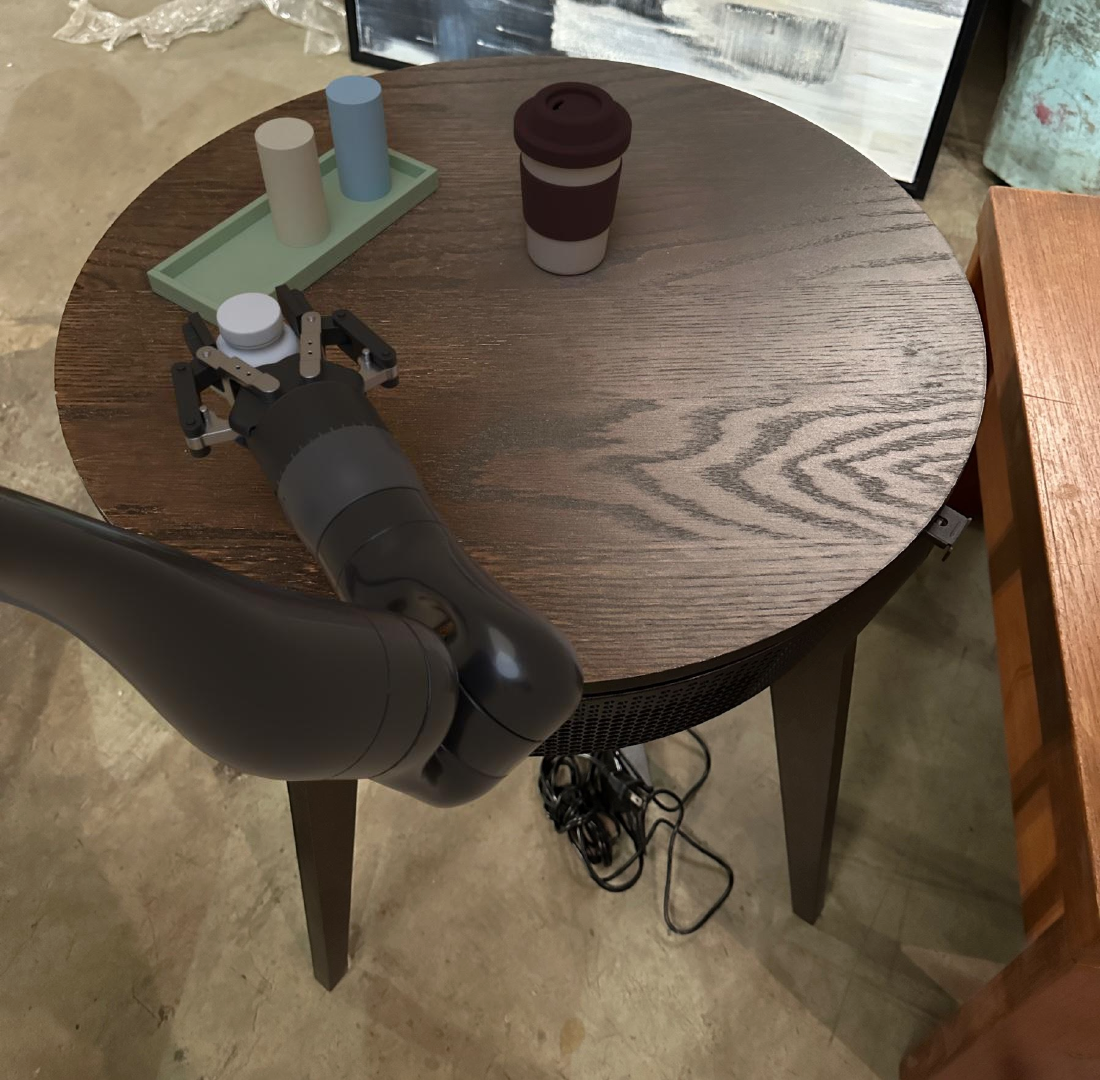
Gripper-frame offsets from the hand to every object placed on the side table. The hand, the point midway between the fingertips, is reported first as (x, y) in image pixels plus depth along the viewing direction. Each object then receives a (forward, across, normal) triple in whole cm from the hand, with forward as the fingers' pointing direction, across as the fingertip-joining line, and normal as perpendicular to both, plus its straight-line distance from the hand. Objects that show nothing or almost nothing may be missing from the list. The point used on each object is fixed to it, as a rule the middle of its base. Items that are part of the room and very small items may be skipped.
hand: (239, 310), depth 67 cm
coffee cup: (+12, -33, +15) cm, 38 cm away
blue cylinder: (+30, -21, +14) cm, 39 cm away
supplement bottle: (-3, 0, +8) cm, 9 cm away
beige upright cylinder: (+26, -13, +14) cm, 32 cm away
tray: (+26, -13, +15) cm, 32 cm away
